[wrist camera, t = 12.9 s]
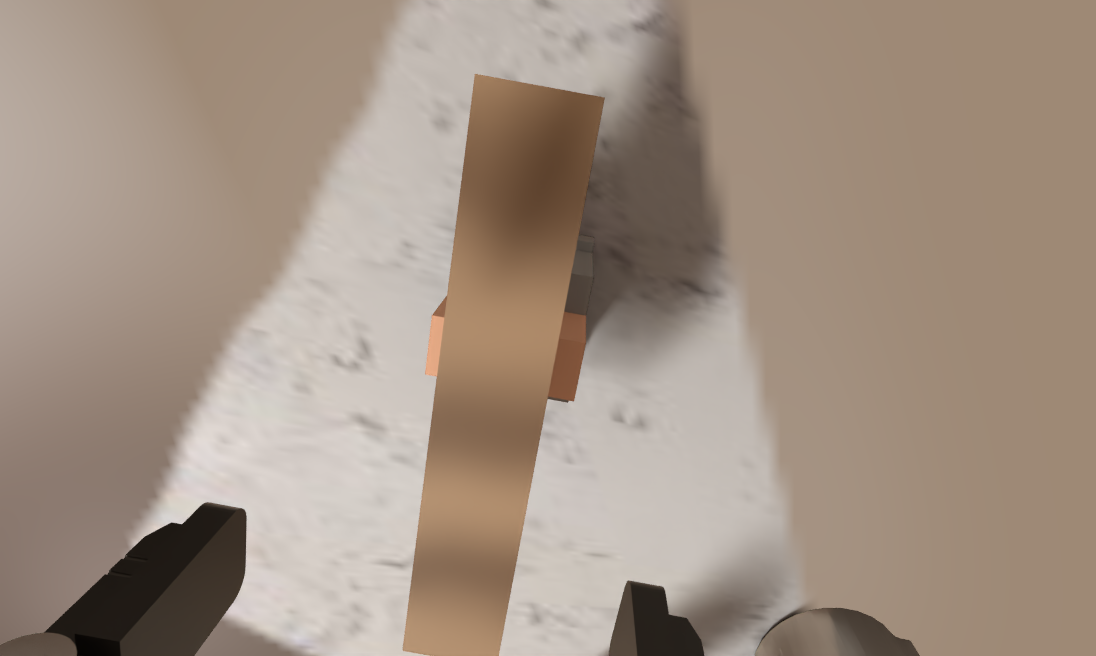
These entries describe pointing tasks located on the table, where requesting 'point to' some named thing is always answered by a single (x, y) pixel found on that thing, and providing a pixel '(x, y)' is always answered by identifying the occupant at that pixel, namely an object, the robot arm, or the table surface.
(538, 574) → the table surface
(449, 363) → the brown wooden beam
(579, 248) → the balance stand
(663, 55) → the table surface
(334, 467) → the table surface
